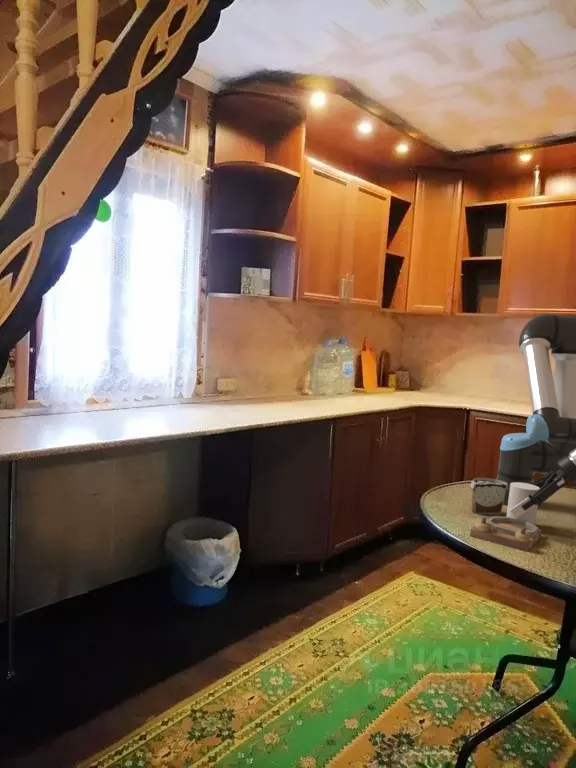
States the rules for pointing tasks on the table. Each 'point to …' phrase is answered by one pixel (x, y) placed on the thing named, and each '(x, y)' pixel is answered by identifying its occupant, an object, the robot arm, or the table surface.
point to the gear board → (507, 531)
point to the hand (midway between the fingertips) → (511, 509)
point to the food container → (488, 495)
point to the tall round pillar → (520, 494)
